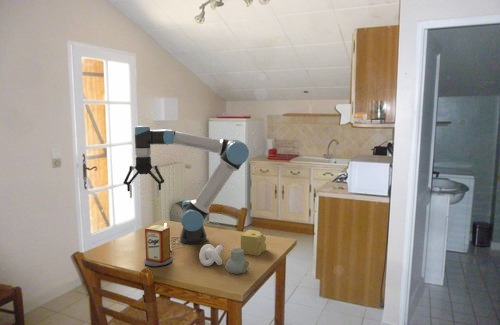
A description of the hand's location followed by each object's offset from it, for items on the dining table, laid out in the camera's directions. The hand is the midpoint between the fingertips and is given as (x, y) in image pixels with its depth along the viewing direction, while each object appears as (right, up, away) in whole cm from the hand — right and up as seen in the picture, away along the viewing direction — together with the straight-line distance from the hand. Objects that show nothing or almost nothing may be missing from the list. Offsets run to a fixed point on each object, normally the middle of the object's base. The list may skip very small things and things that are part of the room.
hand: (144, 196), depth 191 cm
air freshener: (+49, -32, -24) cm, 63 cm away
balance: (+11, -29, +1) cm, 31 cm away
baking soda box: (+10, -29, -13) cm, 34 cm away
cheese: (+56, -29, +1) cm, 64 cm away
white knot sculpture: (+37, -31, -16) cm, 51 cm away
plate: (+10, -30, -13) cm, 35 cm away
